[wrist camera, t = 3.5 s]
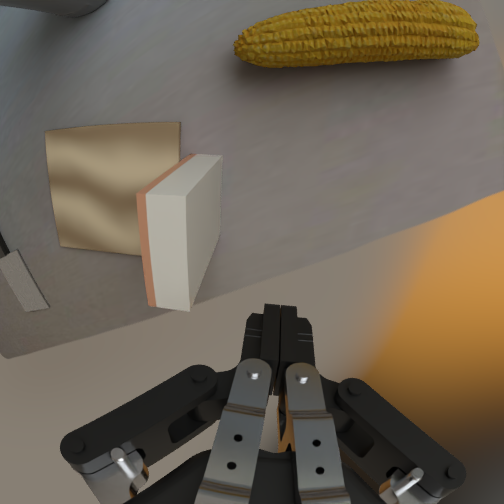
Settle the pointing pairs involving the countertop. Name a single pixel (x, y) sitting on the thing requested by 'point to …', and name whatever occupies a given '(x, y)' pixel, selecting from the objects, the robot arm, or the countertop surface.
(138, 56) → the countertop surface
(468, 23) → the food
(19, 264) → the knife with black handle
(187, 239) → the sponge
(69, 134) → the board
